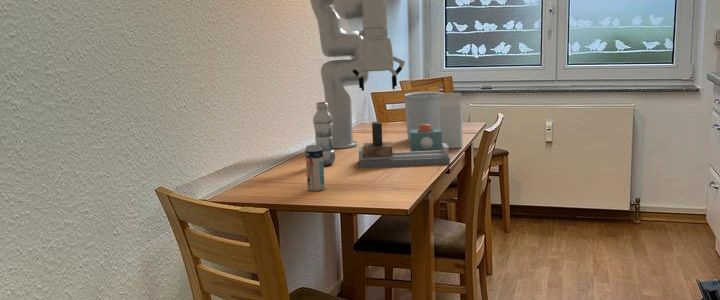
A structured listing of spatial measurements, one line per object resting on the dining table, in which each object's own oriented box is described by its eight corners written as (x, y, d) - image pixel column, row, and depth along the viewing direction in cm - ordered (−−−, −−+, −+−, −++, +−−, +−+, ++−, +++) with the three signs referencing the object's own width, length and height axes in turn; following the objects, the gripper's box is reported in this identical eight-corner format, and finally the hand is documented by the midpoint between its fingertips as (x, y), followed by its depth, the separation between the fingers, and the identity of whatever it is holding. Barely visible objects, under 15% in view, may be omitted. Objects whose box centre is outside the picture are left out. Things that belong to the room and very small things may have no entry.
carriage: (363, 157, 221) (362, 125, 219) (364, 152, 229) (362, 121, 228) (392, 155, 220) (391, 124, 219) (392, 151, 229) (390, 120, 228)
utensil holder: (435, 143, 259) (434, 95, 256) (399, 141, 267) (397, 95, 264) (451, 137, 272) (450, 91, 269) (416, 136, 279) (414, 91, 276)
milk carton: (461, 148, 246) (460, 93, 243) (440, 148, 248) (439, 94, 244) (462, 145, 253) (461, 91, 250) (442, 145, 254) (441, 92, 251)
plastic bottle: (338, 162, 230) (335, 101, 227) (331, 167, 224) (327, 103, 220) (320, 162, 232) (316, 101, 229) (312, 166, 226) (308, 104, 222)
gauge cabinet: (411, 157, 234) (411, 133, 232) (410, 152, 242) (409, 129, 240) (442, 155, 233) (441, 131, 232) (440, 151, 242) (439, 128, 240)
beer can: (307, 188, 195) (304, 145, 193) (324, 187, 195) (322, 144, 193) (307, 192, 190) (304, 148, 188) (325, 191, 190) (322, 146, 188)
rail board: (359, 168, 220) (358, 152, 219) (360, 160, 232) (359, 145, 231) (449, 164, 219) (449, 148, 218) (446, 157, 231) (445, 142, 230)
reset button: (420, 140, 235) (419, 125, 234) (419, 138, 239) (418, 124, 238) (432, 140, 235) (431, 125, 234) (431, 138, 239) (430, 123, 238)
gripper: (347, 35, 216) (350, 91, 219) (403, 32, 216) (406, 89, 218) (348, 35, 224) (351, 90, 226) (403, 32, 223) (405, 87, 226)
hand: (378, 89), depth 222 cm, fingers open, 9 cm apart
